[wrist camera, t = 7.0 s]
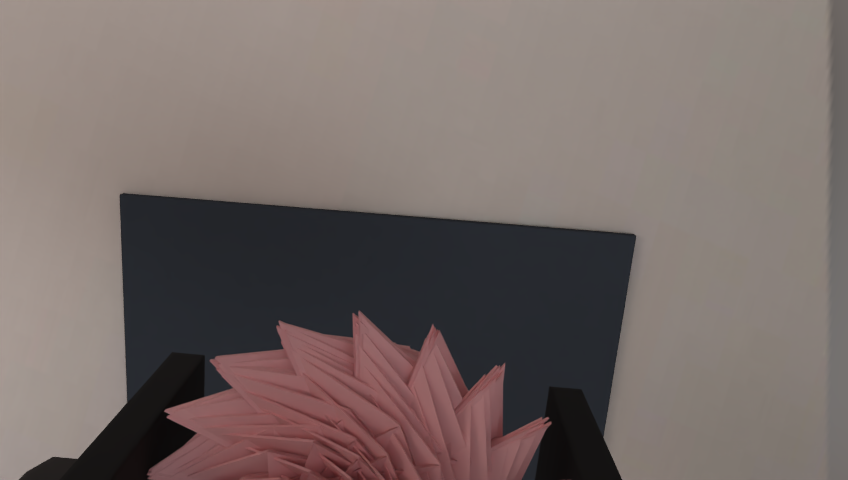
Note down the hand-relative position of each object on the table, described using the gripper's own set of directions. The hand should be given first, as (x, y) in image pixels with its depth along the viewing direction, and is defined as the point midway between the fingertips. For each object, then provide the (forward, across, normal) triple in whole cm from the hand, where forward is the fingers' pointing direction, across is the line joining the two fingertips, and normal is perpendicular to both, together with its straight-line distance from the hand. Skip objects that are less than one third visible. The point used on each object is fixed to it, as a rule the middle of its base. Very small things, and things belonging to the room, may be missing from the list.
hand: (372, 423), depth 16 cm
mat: (+12, -1, -8) cm, 14 cm away
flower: (0, 0, 0) cm, 0 cm away
